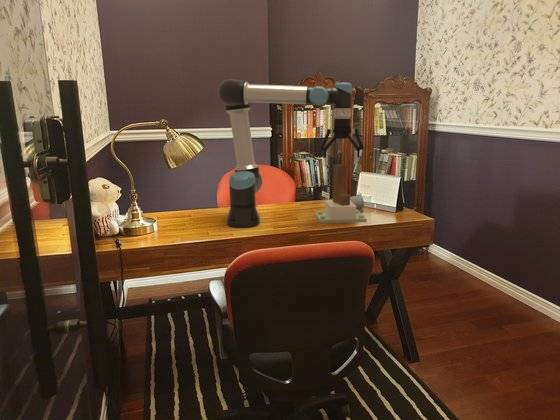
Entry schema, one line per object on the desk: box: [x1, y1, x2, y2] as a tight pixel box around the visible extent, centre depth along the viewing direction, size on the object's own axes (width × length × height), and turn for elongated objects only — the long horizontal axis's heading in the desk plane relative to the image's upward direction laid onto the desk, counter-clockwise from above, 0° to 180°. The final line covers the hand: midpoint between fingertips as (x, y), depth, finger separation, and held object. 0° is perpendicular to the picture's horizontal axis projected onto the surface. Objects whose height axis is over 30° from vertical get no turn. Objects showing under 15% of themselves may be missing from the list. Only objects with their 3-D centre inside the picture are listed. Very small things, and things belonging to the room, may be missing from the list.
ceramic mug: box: [350, 195, 365, 214], centre depth 225 cm, size 11×8×8 cm
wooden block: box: [332, 163, 351, 206], centre depth 209 cm, size 9×4×18 cm, turn 22°
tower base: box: [314, 199, 368, 224], centre depth 212 cm, size 22×14×8 cm, turn 94°
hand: (340, 164), depth 206 cm, fingers open, 13 cm apart
